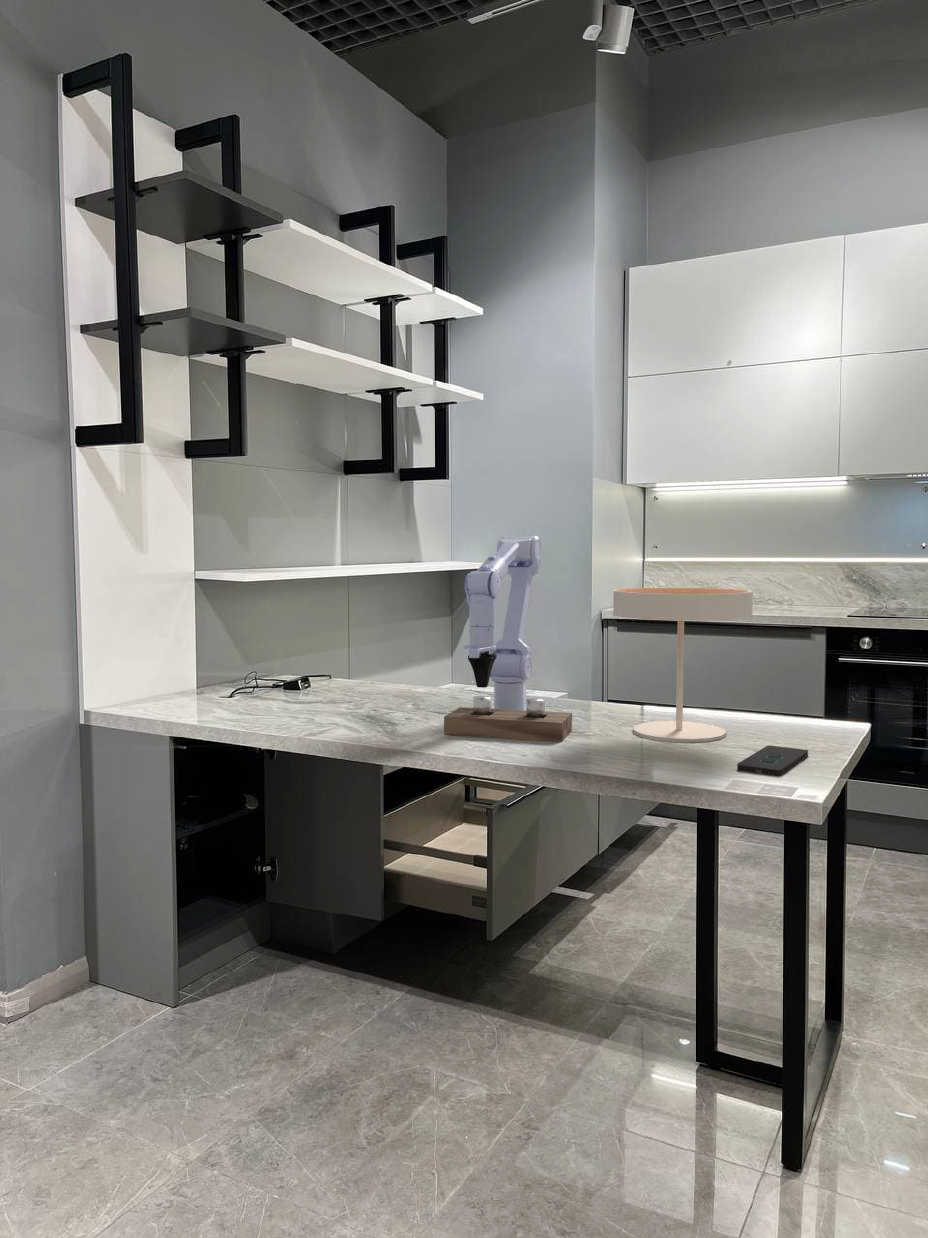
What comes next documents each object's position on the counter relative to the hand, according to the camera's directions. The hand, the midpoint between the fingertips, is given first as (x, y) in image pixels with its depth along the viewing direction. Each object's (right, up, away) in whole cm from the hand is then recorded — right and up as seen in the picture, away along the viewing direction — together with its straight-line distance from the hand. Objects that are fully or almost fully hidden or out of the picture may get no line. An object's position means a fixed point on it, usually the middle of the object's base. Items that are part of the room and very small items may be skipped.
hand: (482, 687), depth 208 cm
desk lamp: (+43, -10, -1) cm, 44 cm away
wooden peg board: (+6, -10, -1) cm, 12 cm away
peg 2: (+11, -7, -3) cm, 14 cm away
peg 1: (0, -6, 0) cm, 6 cm away
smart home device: (+55, -13, -30) cm, 63 cm away
